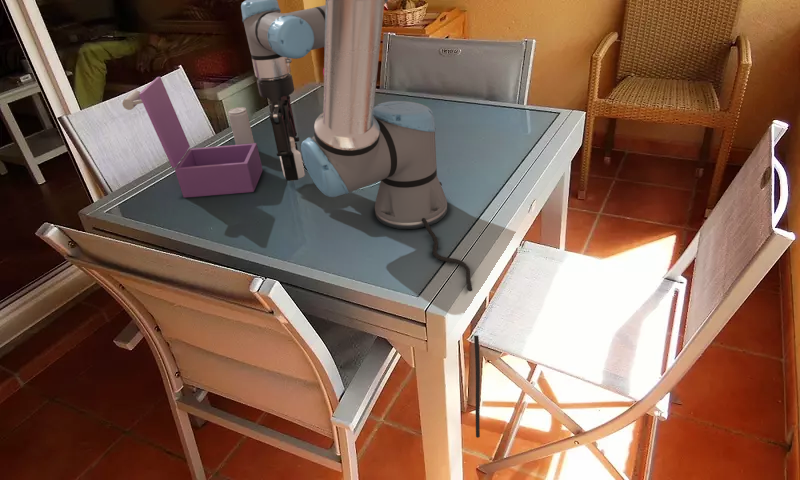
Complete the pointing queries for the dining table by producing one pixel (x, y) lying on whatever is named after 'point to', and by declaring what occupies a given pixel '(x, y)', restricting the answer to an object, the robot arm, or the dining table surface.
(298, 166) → the salt shaker
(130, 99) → the lid
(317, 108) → the dining table surface
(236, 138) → the beverage can
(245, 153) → the file box
